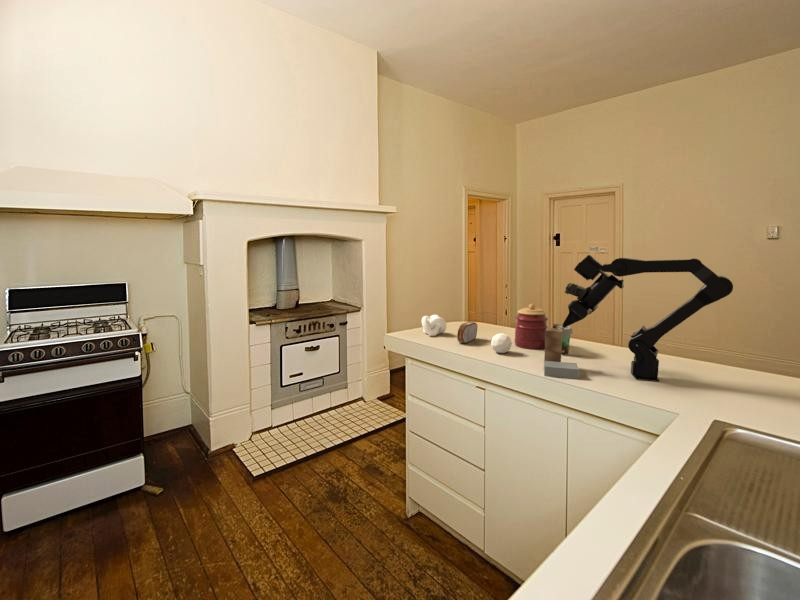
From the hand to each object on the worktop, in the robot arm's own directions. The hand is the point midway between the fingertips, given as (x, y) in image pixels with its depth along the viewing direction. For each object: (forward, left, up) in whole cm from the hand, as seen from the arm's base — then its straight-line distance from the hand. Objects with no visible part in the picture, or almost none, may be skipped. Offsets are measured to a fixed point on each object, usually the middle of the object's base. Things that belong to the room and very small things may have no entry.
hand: (566, 324), depth 139 cm
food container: (-1, -19, -15) cm, 24 cm away
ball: (+22, -11, -15) cm, 29 cm away
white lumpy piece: (+54, -36, -15) cm, 66 cm away
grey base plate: (+2, +11, -15) cm, 18 cm away
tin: (+37, -26, -15) cm, 47 cm away
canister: (+11, -26, -15) cm, 32 cm away
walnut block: (+4, +3, -15) cm, 16 cm away
